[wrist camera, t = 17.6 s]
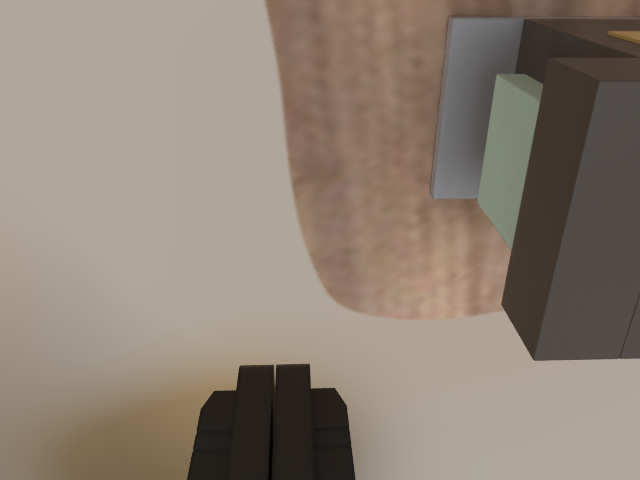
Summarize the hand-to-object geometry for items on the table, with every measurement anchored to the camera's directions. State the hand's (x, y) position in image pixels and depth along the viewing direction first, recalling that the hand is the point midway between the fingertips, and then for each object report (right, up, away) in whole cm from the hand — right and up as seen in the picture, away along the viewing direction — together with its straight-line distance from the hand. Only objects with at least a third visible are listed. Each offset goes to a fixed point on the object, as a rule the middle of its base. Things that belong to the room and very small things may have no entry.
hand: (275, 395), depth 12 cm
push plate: (+10, +9, +18) cm, 22 cm away
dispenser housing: (+14, +11, +23) cm, 29 cm away
